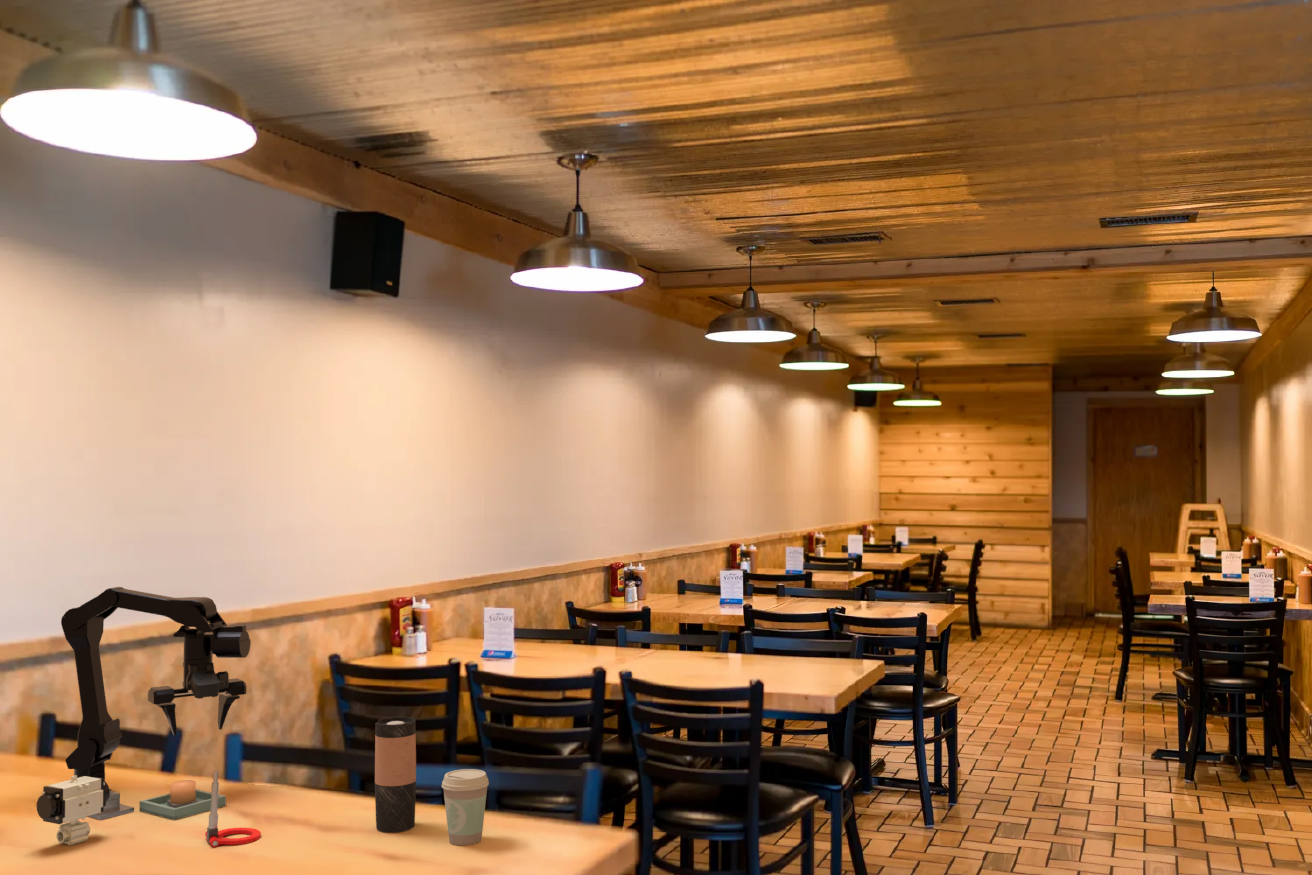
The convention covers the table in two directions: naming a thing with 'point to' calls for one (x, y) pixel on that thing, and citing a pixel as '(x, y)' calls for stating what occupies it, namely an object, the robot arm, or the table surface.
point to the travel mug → (395, 774)
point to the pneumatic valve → (73, 806)
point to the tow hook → (215, 835)
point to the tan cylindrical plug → (182, 793)
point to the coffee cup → (465, 805)
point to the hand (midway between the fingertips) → (197, 732)
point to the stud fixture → (113, 808)
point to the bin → (163, 810)
